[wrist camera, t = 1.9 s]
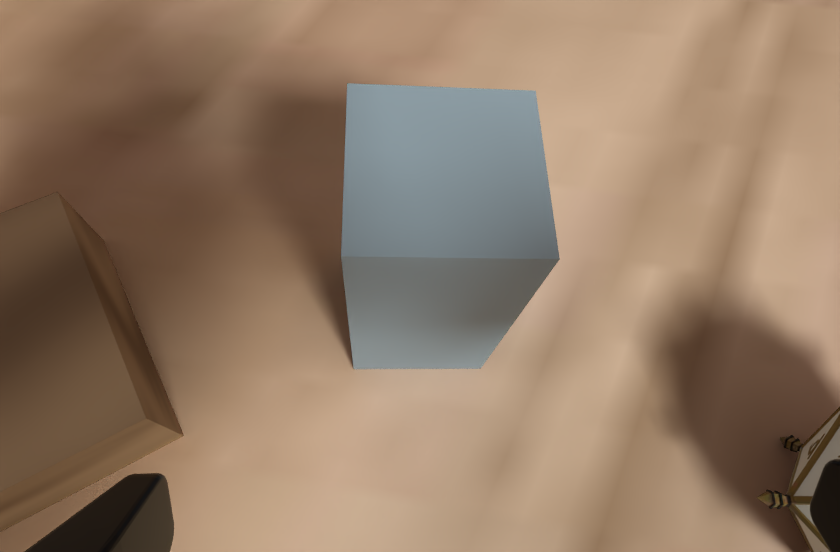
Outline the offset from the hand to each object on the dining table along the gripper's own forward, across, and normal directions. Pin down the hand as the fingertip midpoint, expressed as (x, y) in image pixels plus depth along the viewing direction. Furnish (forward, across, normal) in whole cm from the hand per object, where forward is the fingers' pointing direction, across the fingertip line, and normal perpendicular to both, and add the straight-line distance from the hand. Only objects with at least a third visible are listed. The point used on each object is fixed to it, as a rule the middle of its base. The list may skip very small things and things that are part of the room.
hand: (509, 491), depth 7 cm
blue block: (+15, 0, +4) cm, 15 cm away
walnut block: (+13, +15, +6) cm, 20 cm away
